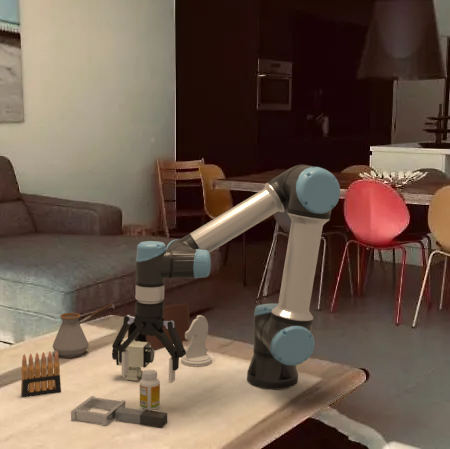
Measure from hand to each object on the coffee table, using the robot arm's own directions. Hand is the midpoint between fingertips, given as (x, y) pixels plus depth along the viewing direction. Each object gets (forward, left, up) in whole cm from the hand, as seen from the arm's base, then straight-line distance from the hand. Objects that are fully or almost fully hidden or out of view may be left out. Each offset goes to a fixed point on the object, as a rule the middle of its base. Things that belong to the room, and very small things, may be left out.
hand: (148, 378), depth 201 cm
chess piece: (+1, -39, -8) cm, 40 cm away
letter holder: (+19, -53, -8) cm, 57 cm away
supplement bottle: (0, 0, -8) cm, 8 cm away
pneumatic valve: (+13, -18, -8) cm, 24 cm away
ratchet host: (+3, +10, -8) cm, 13 cm away
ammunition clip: (+32, +2, -8) cm, 33 cm away
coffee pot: (+39, -36, -8) cm, 54 cm away
